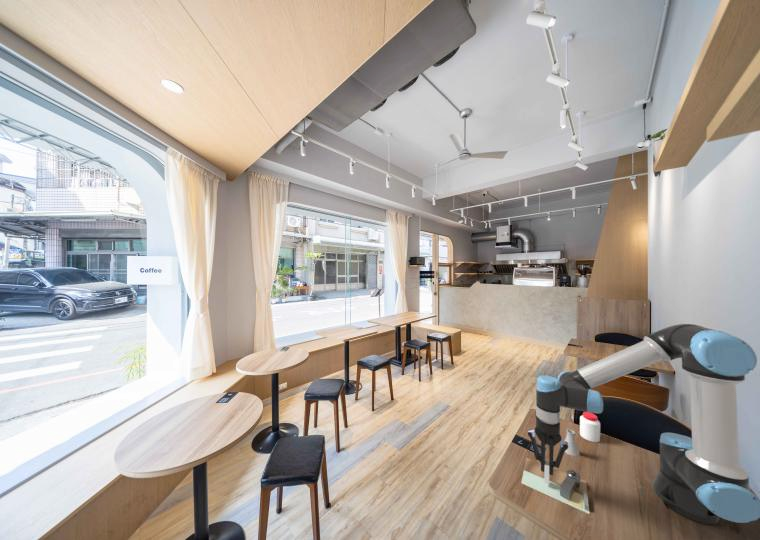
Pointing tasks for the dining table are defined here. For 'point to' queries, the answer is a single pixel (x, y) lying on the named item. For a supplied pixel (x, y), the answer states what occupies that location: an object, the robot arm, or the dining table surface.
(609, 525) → the dining table surface
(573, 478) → the latch bar
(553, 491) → the door panel
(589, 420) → the pill bottle
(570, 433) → the flask
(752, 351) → the robot arm
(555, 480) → the board
